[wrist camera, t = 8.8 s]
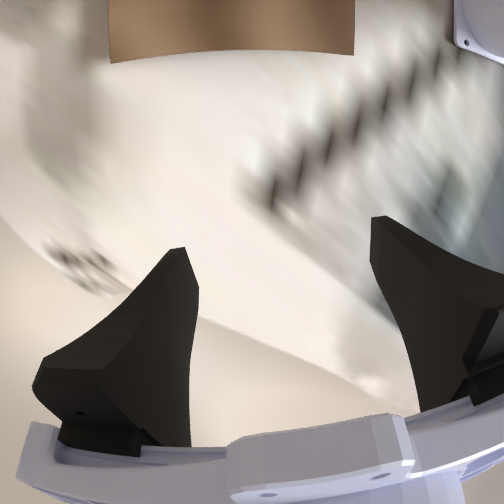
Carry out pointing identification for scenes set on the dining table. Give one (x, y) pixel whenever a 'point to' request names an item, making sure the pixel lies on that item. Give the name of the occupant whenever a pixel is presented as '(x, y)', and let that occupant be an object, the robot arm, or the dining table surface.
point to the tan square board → (228, 26)
